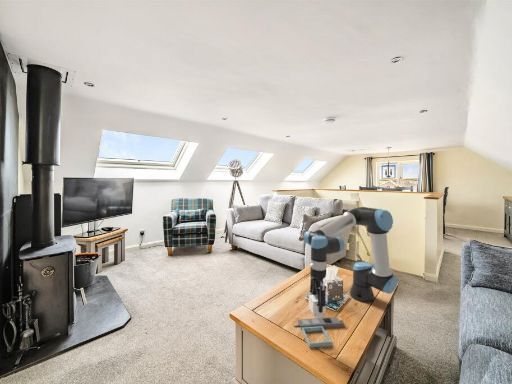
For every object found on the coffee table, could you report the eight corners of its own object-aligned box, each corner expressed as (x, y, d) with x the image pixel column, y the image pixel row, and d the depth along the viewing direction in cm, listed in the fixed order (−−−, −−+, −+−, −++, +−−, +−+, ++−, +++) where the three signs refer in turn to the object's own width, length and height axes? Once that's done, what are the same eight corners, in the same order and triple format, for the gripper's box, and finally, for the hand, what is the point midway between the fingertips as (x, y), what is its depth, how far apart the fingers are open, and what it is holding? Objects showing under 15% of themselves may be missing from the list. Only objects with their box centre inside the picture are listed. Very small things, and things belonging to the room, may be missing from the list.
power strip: (339, 321, 125) (339, 315, 125) (343, 328, 120) (344, 321, 120) (292, 325, 122) (292, 318, 122) (295, 331, 117) (295, 325, 117)
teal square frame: (321, 331, 117) (322, 326, 117) (331, 347, 106) (331, 341, 106) (301, 333, 116) (301, 327, 116) (309, 349, 105) (309, 343, 105)
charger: (320, 309, 113) (320, 294, 113) (325, 317, 107) (325, 300, 107) (308, 310, 113) (308, 294, 112) (312, 318, 106) (313, 301, 106)
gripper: (304, 260, 117) (303, 302, 119) (318, 277, 98) (317, 326, 100) (317, 260, 118) (316, 301, 120) (334, 276, 99) (332, 325, 101)
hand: (316, 313), depth 110 cm, fingers closed on charger, 6 cm apart
